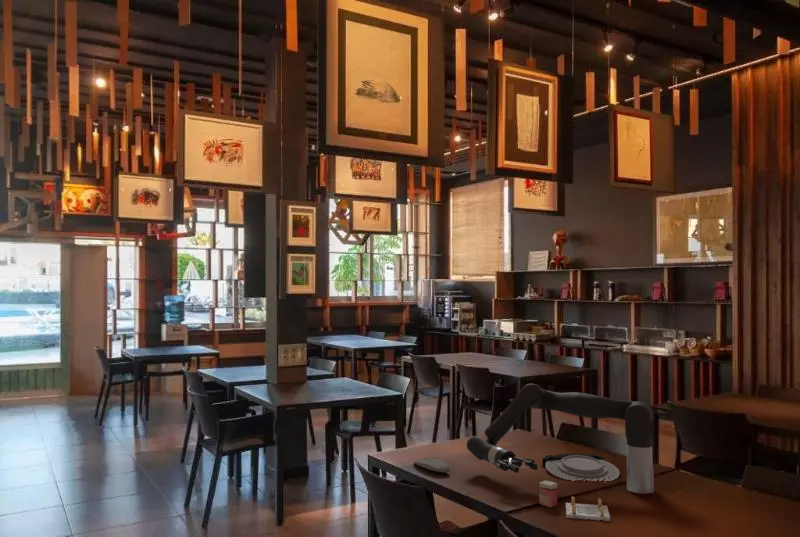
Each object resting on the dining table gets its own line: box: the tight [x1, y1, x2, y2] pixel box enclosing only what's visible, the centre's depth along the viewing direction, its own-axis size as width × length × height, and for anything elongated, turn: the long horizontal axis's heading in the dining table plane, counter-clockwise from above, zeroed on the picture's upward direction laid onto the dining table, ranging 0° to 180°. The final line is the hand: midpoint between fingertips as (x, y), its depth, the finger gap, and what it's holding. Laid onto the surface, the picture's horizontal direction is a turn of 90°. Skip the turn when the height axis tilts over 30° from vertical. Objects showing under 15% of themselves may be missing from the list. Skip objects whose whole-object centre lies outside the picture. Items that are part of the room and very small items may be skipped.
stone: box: [413, 456, 451, 473], centre depth 276 cm, size 24×4×10 cm
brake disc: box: [541, 453, 621, 483], centre depth 273 cm, size 32×30×5 cm
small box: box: [538, 480, 558, 508], centre depth 231 cm, size 5×4×8 cm
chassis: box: [565, 496, 611, 522], centre depth 222 cm, size 14×12×4 cm
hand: (527, 468), depth 241 cm, fingers open, 8 cm apart
